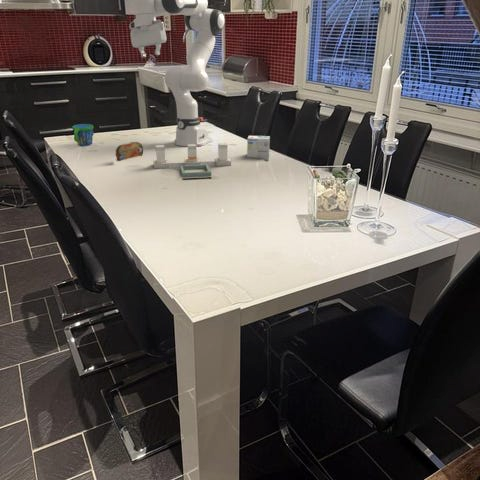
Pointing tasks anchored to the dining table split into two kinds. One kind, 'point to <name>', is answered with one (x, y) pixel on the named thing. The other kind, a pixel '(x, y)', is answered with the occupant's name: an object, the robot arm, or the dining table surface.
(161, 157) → the block
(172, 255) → the dining table surface
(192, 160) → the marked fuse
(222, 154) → the block
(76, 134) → the snack cup
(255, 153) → the light bulb box
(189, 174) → the tray
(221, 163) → the board
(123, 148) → the tin
